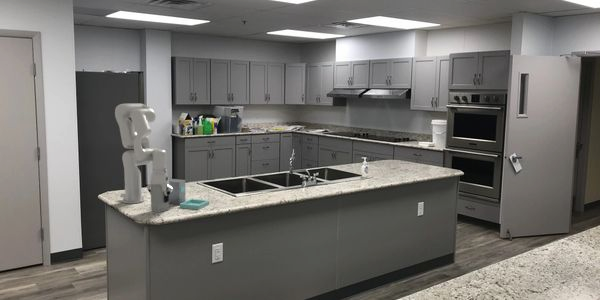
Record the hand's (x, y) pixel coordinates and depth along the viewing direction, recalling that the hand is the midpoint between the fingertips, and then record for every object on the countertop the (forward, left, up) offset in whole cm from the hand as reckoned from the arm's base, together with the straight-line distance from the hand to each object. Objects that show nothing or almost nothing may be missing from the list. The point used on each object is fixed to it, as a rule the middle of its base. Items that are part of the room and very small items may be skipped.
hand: (159, 201), depth 278 cm
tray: (+13, +17, -5) cm, 22 cm away
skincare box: (0, 0, -6) cm, 6 cm away
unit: (-1, +19, -5) cm, 20 cm away
